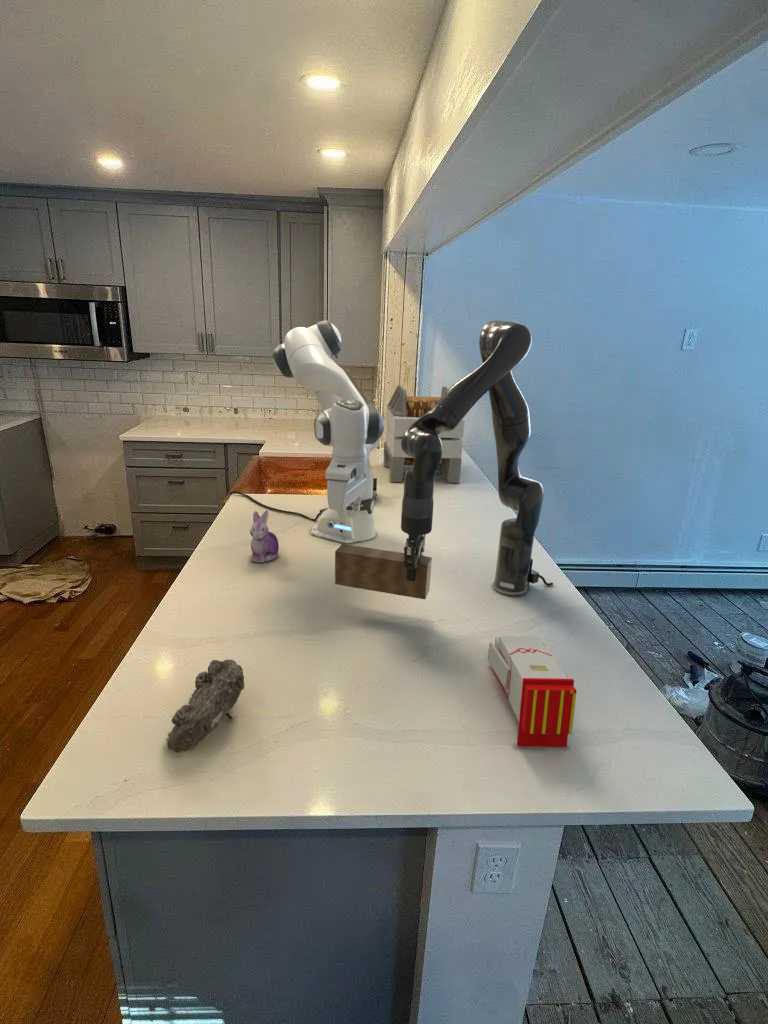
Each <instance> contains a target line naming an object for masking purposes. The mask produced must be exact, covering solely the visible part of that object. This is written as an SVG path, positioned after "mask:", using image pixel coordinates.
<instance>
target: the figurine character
mask: <svg viewBox="0 0 768 1024" xmlns="http://www.w3.org/2000/svg"><path fill="white" fill-rule="evenodd" d="M377 484H378V478H377V477H373V496H374V500H376V498H377V496H378V493H377V487H378V485H377Z"/></svg>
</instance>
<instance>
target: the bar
mask: <svg viewBox="0 0 768 1024" xmlns="http://www.w3.org/2000/svg"><path fill="white" fill-rule="evenodd" d="M409 562H410V563H412V561H409ZM432 562H433V557H432V556H426V555H423V556H420V558H419V559H417V567H416V578H415V581H414V582H412V581H407V580H406V572H407V568H405V567H404V552H399V551H392V550H387V549H380V548H372V547H367V546H361V545H355V544H348V543H341V544H340V545H339V547H338V548H337V549H335V551H334V585H338V586H342V587H343V586H344V587H350V588H355V589H361V590H366V591H373V592H378V593H384V594H390V595H396V596H401V597H408V598H414V599H418V600H419V599H420V600H426V599H427V596H428V594H429V593H430V587H431V576H432V574H431V573H432Z"/></svg>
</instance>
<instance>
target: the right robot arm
mask: <svg viewBox="0 0 768 1024" xmlns="http://www.w3.org/2000/svg"><path fill="white" fill-rule="evenodd" d="M478 339H479V341H478V345H479V346H478V347H479V352H480V358H481V363H482V364H481V365H480V366H478V367H477V368H476V369H474V370H473V371H472V372H470V373H468V374H467V375H465V376H464V377H461V379H459V380H457V382H455V383H454V384H452V385H451V386H450V387H448V388H447V389H448V390H447V391H446V392H445V393H444V394H443V396H442V397H441V396H440V397H441V398H440V399H439V400H438V402H437V403H436V404H435V405H434V407H433V408H432V409H431V410H430V411H429V412H427V413H426V414H424V415H423V416H422V417H421V418H419V419H418V420H417V421H416V422H414V423H413V424H412V425H411V426H410V427H409V428H408V429H407V430H406V431H405V433H404V435H403V437H402V440H401V448H402V450H403V452H404V453H405V454H406V455H408V456H410V457H412V458H414V459H415V464H414V466H413V467H411V468H409V469H407V470H406V472H405V474H404V482H403V497H402V503H401V514H400V515H401V517H400V519H401V520H400V529H401V531H402V532H403V533H405V534H407V535H408V537H407V538H406V540H405V546H404V547H403V553H404V567H405V568H407V572H406V580H407V581H412V582H414V581H415V578H416V567H417V559H419V558H420V556H424V554H423V553H424V552H425V545H426V537H427V536H426V535H428V534H430V533H432V529H433V520H434V519H433V518H434V516H433V515H434V489H435V487H434V486H435V478H436V475H437V472H438V470H439V469H438V466H439V463H440V460H441V457H442V442H441V440H440V438H439V437H438V436H437V435H439V434H440V433H442V432H450V431H452V430H453V429H454V428H455V427H456V426H457V425H458V424H459V423H460V421H461V420H462V419H464V418H465V416H467V414H468V413H469V412H470V410H471V409H472V408H473V407H474V406H475V405H476V403H478V401H479V400H480V399H481V398H482V397H483V396H484V395H485V394H487V392H488V396H489V403H490V409H491V420H492V429H493V434H494V441H495V449H496V450H495V451H496V460H497V491H498V498H499V501H500V503H501V504H502V505H503V506H505V507H506V508H509V509H511V510H515V511H516V512H517V513H516V514H517V515H516V517H515V518H508V519H505V520H503V521H502V522H501V526H500V531H499V532H500V533H499V539H498V540H499V541H498V548H497V549H498V551H497V558H496V565H495V566H496V567H495V575H494V581H493V589H494V590H495V591H496V592H498V593H500V594H502V595H506V596H513V597H516V596H517V597H518V596H523V595H525V594H526V593H527V592H528V590H530V584H532V585H533V584H536V583H539V580H540V579H541V580H542V582H543V584H544V585H545V586H547V587H549V586H550V587H551V586H553V585H554V583H553V582H547V580H546V579H545V577H544V576H542V575H540V573H539V572H538V571H536V570H535V569H533V562H534V559H533V558H532V554H533V547H534V540H535V533H536V530H537V527H538V525H539V521H540V516H541V510H542V507H543V503H544V496H545V495H544V494H545V492H544V487H543V484H542V483H541V482H539V481H537V480H535V479H531V478H528V477H525V476H522V474H521V472H520V464H519V463H520V456H521V454H522V453H523V450H524V449H525V448H526V446H527V445H528V442H529V440H530V437H531V434H532V433H531V431H532V430H531V417H530V410H529V406H528V403H527V402H526V399H525V397H524V395H523V394H522V392H521V390H520V388H519V386H518V385H517V383H516V381H515V378H514V376H513V372H512V370H513V369H515V368H516V367H517V366H518V365H519V364H520V363H521V362H522V361H523V360H524V359H525V358H526V356H527V355H528V353H529V351H530V349H531V347H532V342H533V341H532V340H533V337H532V333H531V330H530V328H529V327H527V326H526V325H525V324H523V323H520V322H516V321H515V322H514V321H507V320H506V321H505V320H498V319H497V320H495V319H494V320H490V321H488V322H487V323H486V324H484V325H483V327H482V329H481V331H480V334H479V338H478ZM409 561H412V563H410V562H409Z"/></svg>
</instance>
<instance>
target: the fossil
mask: <svg viewBox="0 0 768 1024" xmlns="http://www.w3.org/2000/svg"><path fill="white" fill-rule="evenodd" d="M243 670H244V669H243V667H242V665H240V664H237V662H236V661H235V660H234V659H232V658H231V659H227V658H226V659H224V660H223V661H222V660H217V659H212V660H211V661H210V663H209V665H208V666H207V671H201V672H199V673H198V674H197V675H196V676H195V680H194V684H195V685H194V687H195V689H194V690H193V693H192V694H191V697H190V698H189V700H188V704H184V705H182V706H181V707H180V709H177V710H176V711H175V713H174V715H173V716H172V718H171V723H172V724H173V727H172V730H171V731H170V732H168V734H167V738H166V741H167V742H166V745H167V749H168V750H169V751H173V752H174V753H176V754H178V753H182V752H188V751H189V752H192V751H193V750H195V748H196V747H197V746H199V744H200V743H201V742H203V741H204V740H205V739H206V738H207V737H208V736H209V735H210V734H211V733H212V732H214V730H215V729H217V727H218V726H219V724H220V722H221V721H222V720H223V719H224V718H225V716H226V717H227V719H229V720H233V717H232V715H230V714H229V710H230V709H231V708H234V706H235V704H236V703H237V702H238V699H239V697H240V695H241V693H242V691H243V690H245V689H244V688H245V675H244V671H243Z"/></svg>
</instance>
